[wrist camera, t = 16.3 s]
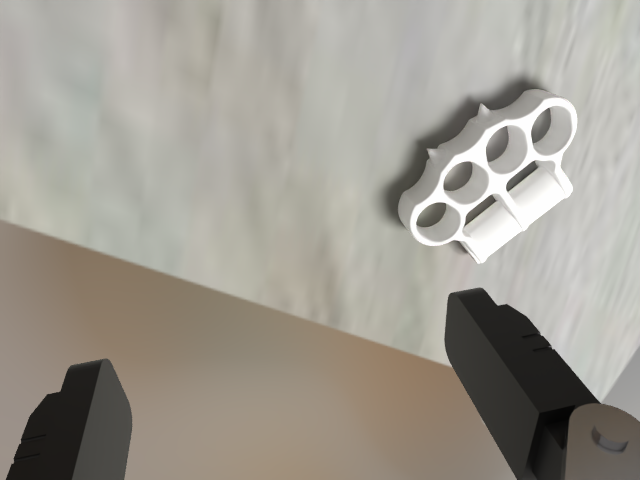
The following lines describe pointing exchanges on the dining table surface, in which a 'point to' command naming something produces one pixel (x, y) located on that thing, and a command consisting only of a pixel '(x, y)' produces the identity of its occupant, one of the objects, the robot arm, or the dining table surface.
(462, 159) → the white brass knuckles
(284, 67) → the dining table surface
